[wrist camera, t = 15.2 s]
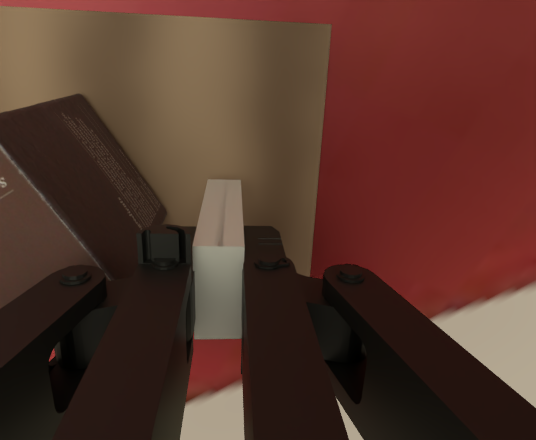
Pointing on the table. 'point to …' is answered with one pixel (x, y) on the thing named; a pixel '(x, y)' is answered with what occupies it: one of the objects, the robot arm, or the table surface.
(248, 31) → the wooden board
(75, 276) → the robot arm
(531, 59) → the table surface
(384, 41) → the table surface
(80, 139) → the box
